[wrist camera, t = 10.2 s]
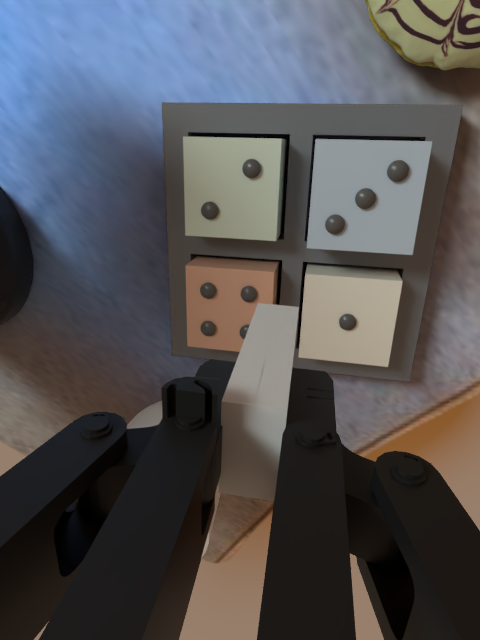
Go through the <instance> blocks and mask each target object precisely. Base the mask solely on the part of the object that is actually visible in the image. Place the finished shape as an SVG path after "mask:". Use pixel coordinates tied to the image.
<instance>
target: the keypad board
mask: <svg viewBox="0 0 480 640" xmlns="http://www.w3.org/2000/svg"><path fill="white" fill-rule="evenodd" d="M462 108H463V105H402V104H277V103H162V117H163V143H164V168H165V193H166V218H167V244H168V269H169V294H170V319H171V344H172V355H174V356H183V357H192V358H201V359H215V360H223V361H232V362H236V361H237V358H238V355H239V353H240V352H236V351H227V350H218V349H208V348H199V347H190V346H187V307H186V265H187V264H188V263H189V262H191V261H192V260H193V259H194V258H196V257H197V256H198V254H199V255H214V256H228V257H242V258H257V259H271V260H282V275H281V292H280V305H283V306H293V307H299V311H298V321H297V331H296V341H295V350H294V360H293V368H301V369H310V370H318V371H326V373H334V374H343V375H352V376H361V377H370V378H379V379H388V380H397V381H406V382H409V381H410V376H411V370H412V365H413V360H414V355H415V350H416V345H417V340H418V334H419V329H420V324H421V319H422V314H423V309H424V304H425V298H426V293H427V288H428V283H429V278H430V273H431V268H432V262H433V257H434V252H435V247H436V242H437V237H438V232H439V226H440V221H441V216H442V211H443V206H444V201H445V196H446V191H447V185H448V180H449V175H450V170H451V165H452V160H453V155H454V149H455V144H456V139H457V134H458V129H459V124H460V119H461V113H462ZM197 133H217V134H266V135H290V145H289V161H288V178H287V194H286V210H285V227H284V235H283V234H280V235H279V237H278V239H277V240H276V241H266V240H250V239H234V238H218V237H202V236H186V235H185V199H184V157H183V136H185V137H197ZM314 135H315V136H364V137H413V138H420V139H419V141H432V147H431V152H430V158H429V164H428V169H427V175H426V181H425V186H424V192H423V198H422V204H421V209H420V215H419V221H418V226H417V232H416V238H415V243H414V249H413V255H404V254H388V253H373V252H357V251H342V250H326V249H311V248H307V238H308V236H306V230H307V218H308V205H309V193H310V180H311V168H312V156H313V143H314ZM304 262H314V263H328V264H342V265H357V266H371V267H385V268H398V273H399V275H400V277H401V279H402V281H403V282H402V288H401V294H400V300H399V306H398V312H397V317H396V323H395V329H394V335H393V341H392V347H391V353H390V358H389V364H388V367H383V366H374V365H365V364H355V363H346V362H337V361H327V360H318V359H309V358H300V357H298V356H299V344H300V338H298V329H299V317H300V304H301V292H302V280H303V267H304Z"/></svg>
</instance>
